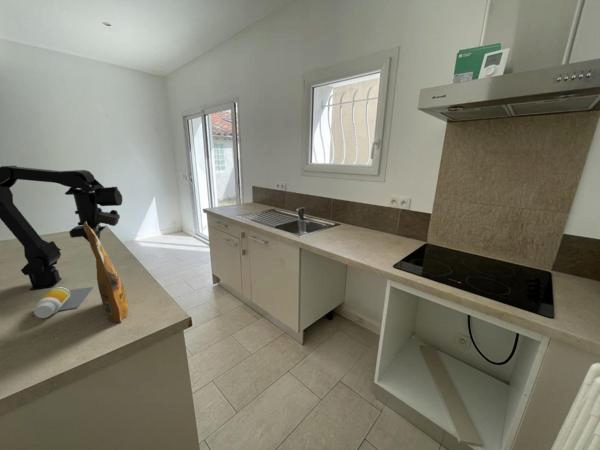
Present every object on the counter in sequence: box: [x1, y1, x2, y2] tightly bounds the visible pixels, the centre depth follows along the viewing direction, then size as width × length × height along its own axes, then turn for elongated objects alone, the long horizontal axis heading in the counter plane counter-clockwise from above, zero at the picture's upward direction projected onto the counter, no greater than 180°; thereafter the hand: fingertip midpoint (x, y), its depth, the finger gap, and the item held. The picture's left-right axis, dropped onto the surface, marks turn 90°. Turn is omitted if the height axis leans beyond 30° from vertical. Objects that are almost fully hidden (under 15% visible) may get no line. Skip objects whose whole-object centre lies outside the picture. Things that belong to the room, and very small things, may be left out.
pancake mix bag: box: [82, 222, 129, 323], centre depth 72 cm, size 7×19×28 cm, turn 38°
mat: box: [30, 286, 94, 317], centre depth 80 cm, size 11×13×1 cm
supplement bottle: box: [33, 286, 70, 319], centre depth 74 cm, size 5×5×10 cm
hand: (96, 247), depth 90 cm, fingers closed
